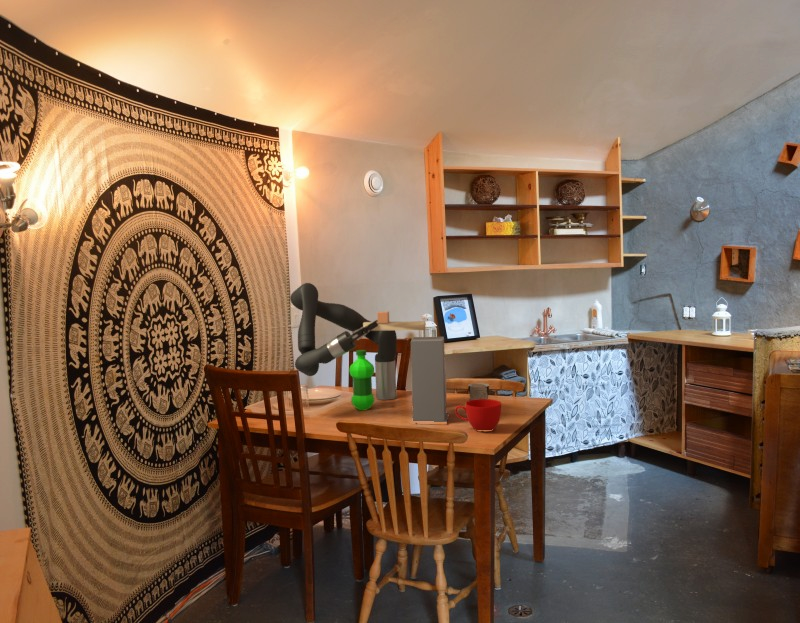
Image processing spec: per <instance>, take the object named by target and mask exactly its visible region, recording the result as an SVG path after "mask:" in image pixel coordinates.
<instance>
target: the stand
mask: <svg viewBox="0 0 800 623" xmlns="http://www.w3.org/2000/svg"><path fill="white" fill-rule="evenodd" d="M410 357H411V358H410V366H411V368H410V369H412V374H411V402H412V401H413V406H412V417H411V419H412V418H413V421H434V422H447V423H448V421H447V419H448V420H449V416H448V414H449V412H447V404H446V400H447V394H446V395H445V358H446V357H445V336H413V338H412V339H411V341H410ZM449 415H450V414H449Z"/></svg>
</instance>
